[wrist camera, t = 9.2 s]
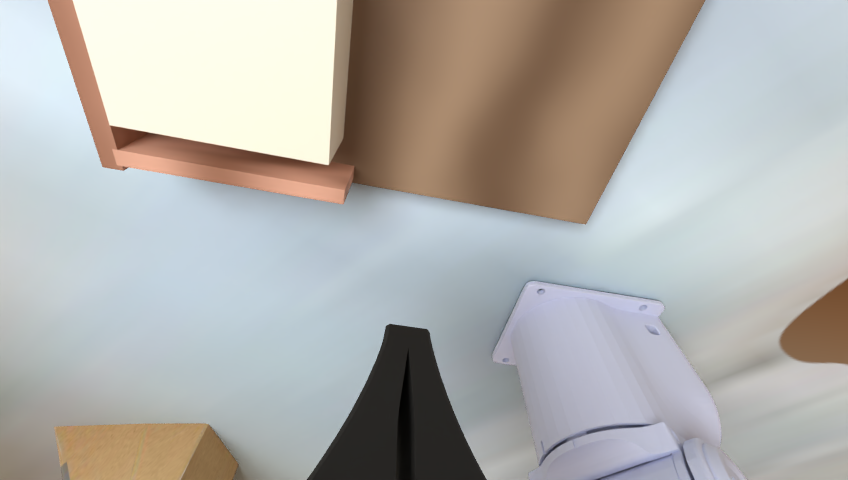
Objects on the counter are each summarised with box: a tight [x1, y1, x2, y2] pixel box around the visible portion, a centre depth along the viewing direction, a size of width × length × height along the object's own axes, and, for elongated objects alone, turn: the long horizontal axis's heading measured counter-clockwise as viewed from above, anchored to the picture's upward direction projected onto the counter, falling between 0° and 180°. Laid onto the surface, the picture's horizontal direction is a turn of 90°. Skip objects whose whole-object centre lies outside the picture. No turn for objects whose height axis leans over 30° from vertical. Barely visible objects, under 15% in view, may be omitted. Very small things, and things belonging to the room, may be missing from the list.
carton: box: [73, 0, 353, 165], centre depth 13 cm, size 8×7×3 cm
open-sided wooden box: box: [48, 0, 705, 224], centre depth 15 cm, size 22×12×4 cm, turn 79°
